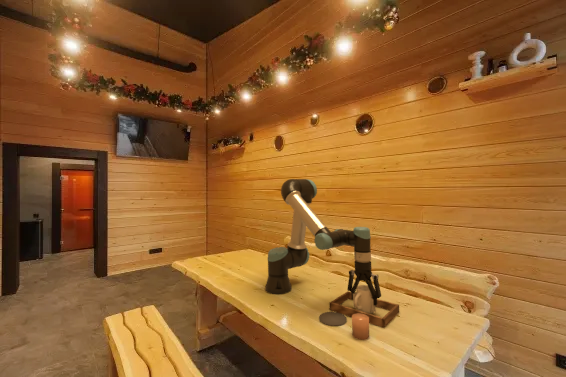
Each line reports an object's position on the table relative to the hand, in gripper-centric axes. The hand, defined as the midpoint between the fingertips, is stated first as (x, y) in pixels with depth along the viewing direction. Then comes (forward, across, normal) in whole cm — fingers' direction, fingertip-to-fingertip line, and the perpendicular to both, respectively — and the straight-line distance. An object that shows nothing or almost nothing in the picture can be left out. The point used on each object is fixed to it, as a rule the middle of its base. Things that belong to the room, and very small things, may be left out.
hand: (364, 309), depth 122 cm
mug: (+1, 0, 0) cm, 1 cm away
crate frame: (+1, 0, 0) cm, 1 cm away
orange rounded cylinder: (+1, +8, -20) cm, 21 cm away
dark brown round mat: (+1, -7, -16) cm, 18 cm away
